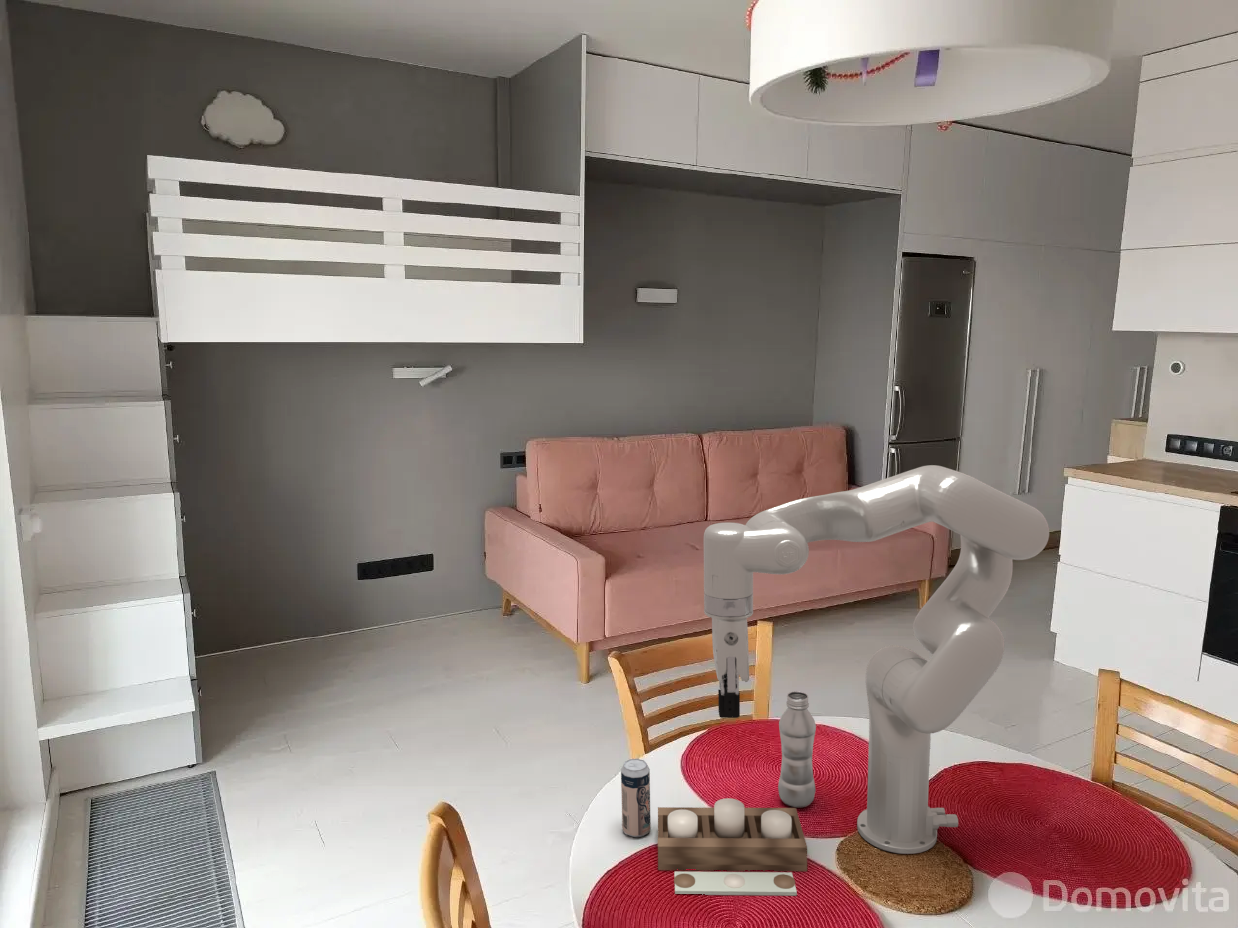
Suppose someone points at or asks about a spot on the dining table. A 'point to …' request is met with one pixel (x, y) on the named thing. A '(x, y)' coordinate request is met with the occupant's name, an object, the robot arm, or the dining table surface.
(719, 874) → the card
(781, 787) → the plastic bottle
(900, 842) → the robot arm
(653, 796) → the dining table surface
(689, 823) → the button
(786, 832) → the button
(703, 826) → the wooden compartment tray
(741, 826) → the button mid
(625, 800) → the beer can
